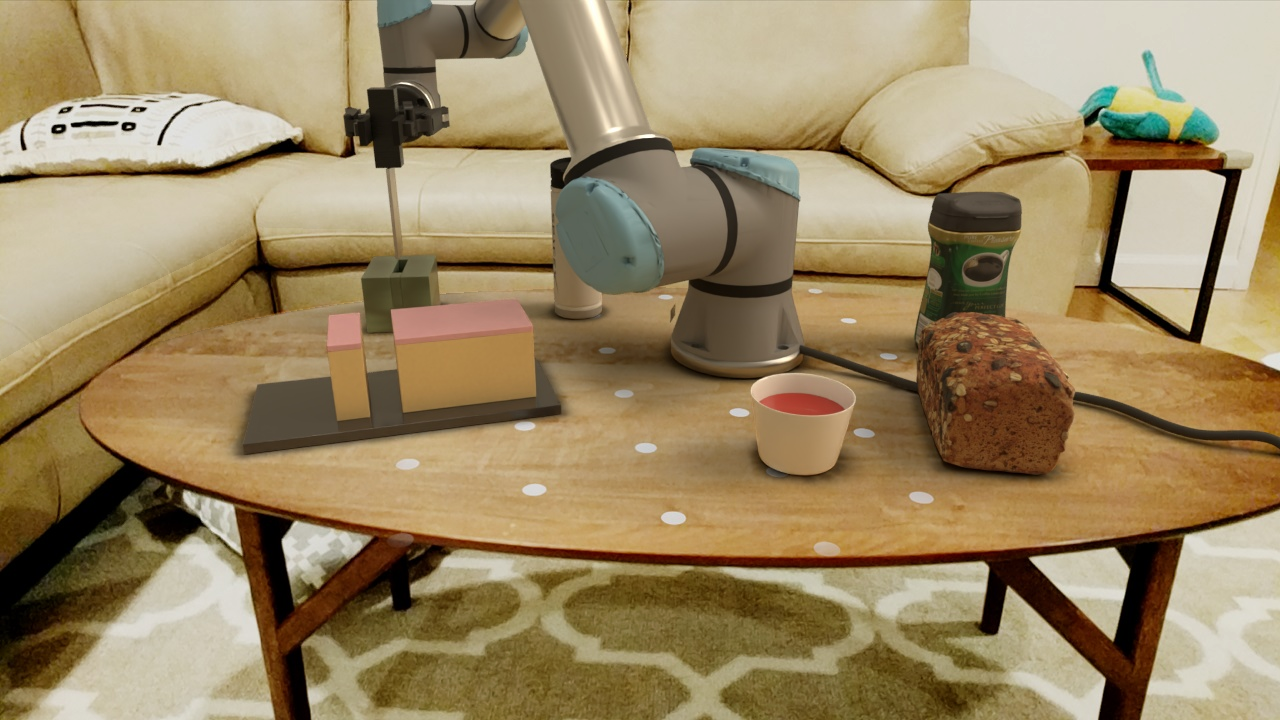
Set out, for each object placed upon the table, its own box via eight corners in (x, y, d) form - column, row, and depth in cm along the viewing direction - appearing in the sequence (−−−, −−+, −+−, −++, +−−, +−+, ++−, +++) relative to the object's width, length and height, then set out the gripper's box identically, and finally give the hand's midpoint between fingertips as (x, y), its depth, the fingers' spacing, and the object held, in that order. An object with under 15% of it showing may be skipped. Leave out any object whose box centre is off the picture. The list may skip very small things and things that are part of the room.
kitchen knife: (413, 250, 111) (397, 86, 103) (409, 259, 106) (392, 89, 99) (389, 250, 110) (371, 86, 103) (384, 259, 106) (365, 89, 99)
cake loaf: (520, 364, 95) (517, 298, 92) (536, 397, 87) (533, 325, 84) (398, 377, 91) (390, 309, 88) (402, 413, 83) (394, 339, 80)
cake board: (534, 362, 98) (534, 354, 97) (561, 414, 85) (561, 404, 85) (258, 393, 90) (257, 384, 89) (244, 454, 77) (242, 444, 77)
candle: (812, 495, 71) (819, 426, 69) (726, 458, 77) (729, 394, 75) (867, 457, 77) (875, 392, 75) (784, 425, 83) (788, 365, 81)
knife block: (440, 304, 117) (436, 254, 114) (433, 330, 107) (428, 276, 105) (379, 307, 116) (373, 256, 113) (367, 332, 106) (360, 278, 104)
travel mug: (608, 305, 117) (606, 155, 109) (594, 321, 111) (592, 163, 103) (563, 302, 118) (559, 153, 110) (548, 317, 112) (542, 161, 104)
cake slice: (368, 381, 90) (359, 312, 87) (370, 417, 82) (360, 342, 79) (338, 384, 89) (328, 314, 87) (337, 421, 81) (326, 346, 79)
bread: (1062, 481, 74) (1085, 373, 70) (932, 470, 75) (948, 364, 72) (1014, 392, 91) (1031, 302, 87) (909, 385, 92) (921, 295, 89)
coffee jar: (979, 336, 106) (1003, 184, 99) (1011, 360, 99) (1040, 198, 92) (903, 338, 105) (922, 186, 98) (929, 363, 98) (952, 200, 91)
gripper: (465, 138, 121) (454, 165, 100) (347, 140, 120) (309, 168, 98) (461, 82, 119) (448, 98, 97) (340, 83, 117) (300, 99, 95)
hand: (379, 133), depth 98 cm, fingers closed on kitchen knife, 3 cm apart
